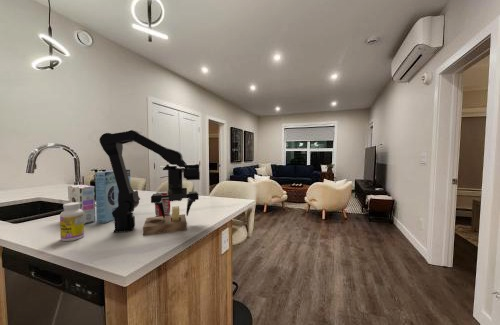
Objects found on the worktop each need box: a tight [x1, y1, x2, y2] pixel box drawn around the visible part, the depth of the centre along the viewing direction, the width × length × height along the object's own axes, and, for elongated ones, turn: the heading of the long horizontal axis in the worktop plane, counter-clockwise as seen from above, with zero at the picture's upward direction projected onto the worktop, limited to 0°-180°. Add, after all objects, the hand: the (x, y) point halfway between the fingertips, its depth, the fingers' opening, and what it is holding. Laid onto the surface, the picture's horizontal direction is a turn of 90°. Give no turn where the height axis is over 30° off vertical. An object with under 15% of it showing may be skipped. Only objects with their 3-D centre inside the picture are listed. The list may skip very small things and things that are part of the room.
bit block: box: [142, 214, 188, 236], centre depth 91 cm, size 16×13×3 cm
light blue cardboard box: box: [94, 169, 132, 224], centre depth 106 cm, size 20×5×23 cm, turn 178°
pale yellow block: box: [171, 205, 180, 222], centre depth 92 cm, size 3×5×8 cm, turn 20°
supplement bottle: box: [59, 202, 85, 242], centre depth 79 cm, size 7×7×13 cm
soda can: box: [154, 190, 171, 217], centre depth 108 cm, size 7×7×12 cm
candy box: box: [67, 184, 97, 225], centre depth 100 cm, size 14×6×16 cm, turn 58°
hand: (175, 216), depth 92 cm, fingers open, 9 cm apart
